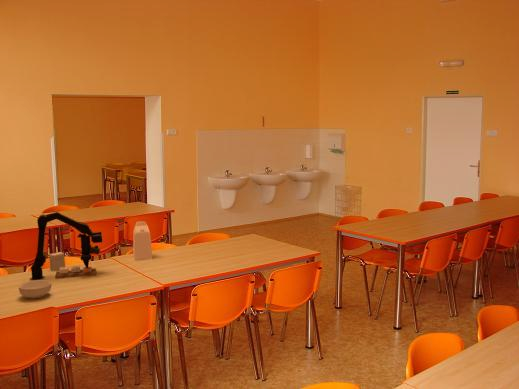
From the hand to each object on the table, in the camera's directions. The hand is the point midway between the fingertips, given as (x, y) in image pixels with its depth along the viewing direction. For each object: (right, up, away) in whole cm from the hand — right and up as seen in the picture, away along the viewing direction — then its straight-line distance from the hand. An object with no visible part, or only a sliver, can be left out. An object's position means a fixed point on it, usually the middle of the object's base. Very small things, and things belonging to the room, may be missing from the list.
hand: (87, 267), depth 349 cm
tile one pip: (-13, -2, -3) cm, 14 cm away
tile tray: (-7, -4, -1) cm, 8 cm away
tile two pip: (-7, -2, -2) cm, 7 cm away
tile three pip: (0, -3, 0) cm, 3 cm away
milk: (+27, +1, +39) cm, 47 cm away
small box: (-24, -3, +14) cm, 28 cm away
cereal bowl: (-15, -11, -43) cm, 47 cm away
